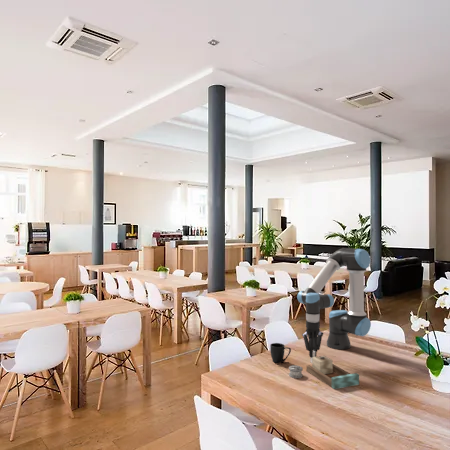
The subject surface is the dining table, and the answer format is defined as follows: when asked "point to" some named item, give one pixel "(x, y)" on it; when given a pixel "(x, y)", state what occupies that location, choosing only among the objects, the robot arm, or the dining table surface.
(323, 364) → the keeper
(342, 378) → the channel
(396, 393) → the dining table surface
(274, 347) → the mug
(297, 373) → the gray yo-yo
